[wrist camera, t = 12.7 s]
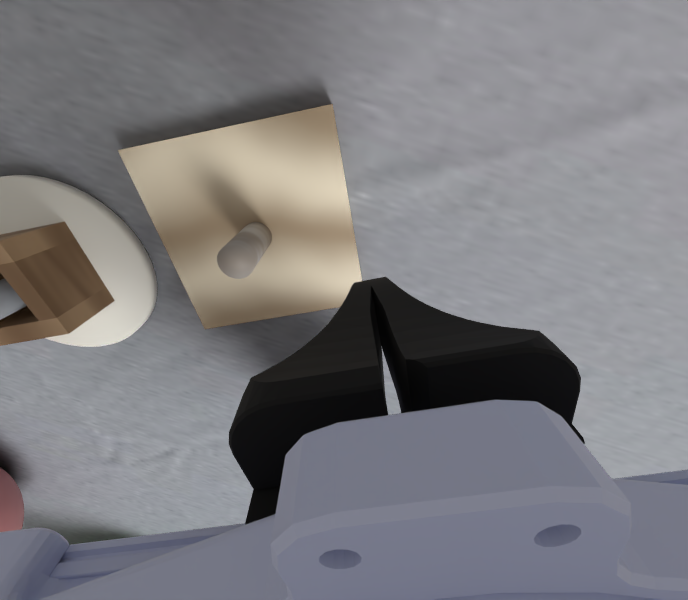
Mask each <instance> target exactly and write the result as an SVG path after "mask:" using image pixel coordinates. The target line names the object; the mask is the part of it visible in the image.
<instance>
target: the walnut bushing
mask: <svg viewBox="0 0 688 600" xmlns="http://www.w3.org/2000/svg"><path fill="white" fill-rule="evenodd" d="M4 278H5V279H6V280H7V282H8V283H9V284H10V285H11V287H12V288H13V289H14V290H15V292H16V293H17V294H18V295H19V297H20V298H21V299H22V300H23V302H24V303H25V304H26V305H27V306H26V307H24V308H22V309H20V310H18V311H16V312H14V313H12V314H11V315H9V316H7V317H5V318H3V319H1V320H0V346H1V345H7V344H13V343H19V342H24V341H30V340H36V339H42V338H48V337H53V336H59V335H65V334H69V333H71V332H72V331H74V330H75V329H76V328H78V327H79V326H80V325H82V324H83V323H85V322H86V321H87V320H89V319H90V318H92V317H93V316H94V315H96V314H97V313H99V312H100V311H101V310H103V309H104V308H106V307H107V306H108V305H110V304H111V303H112V302H114V301H115V300H114V299H113V297H112V295H111V294H110V292H109V291H108V289H107V288H106V286H105V284H104V283H103V281H102V280H101V278H100V276H99V275H98V273H97V272H96V270H95V269H94V267H93V265H92V264H91V262H90V261H89V259H88V257H87V256H86V254H85V253H84V251H83V250H82V248H81V246H80V245H79V243H78V242H77V240H76V238H75V237H74V235H73V234H72V232H71V230H70V229H69V227H68V226H67V224H66V223H65V221H64V222H59V223H54V224H50V225H45V226H40V227H35V228H30V229H25V230H20V231H15V232H10V233H5V234H1V235H0V280H2V279H4Z"/></svg>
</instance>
